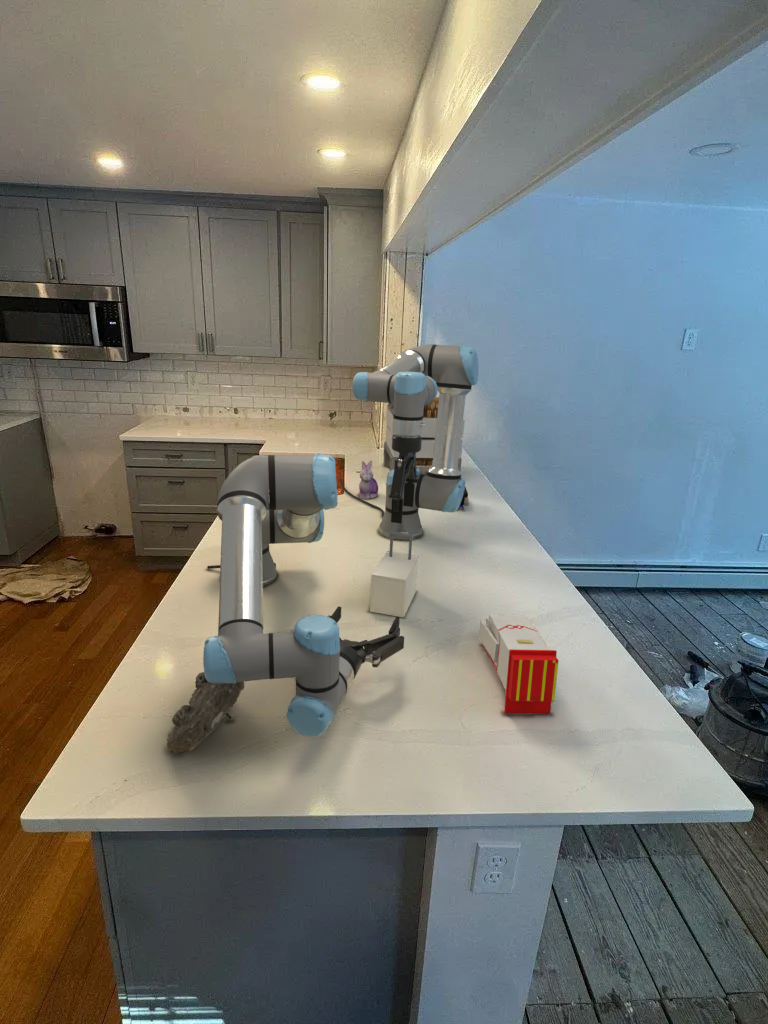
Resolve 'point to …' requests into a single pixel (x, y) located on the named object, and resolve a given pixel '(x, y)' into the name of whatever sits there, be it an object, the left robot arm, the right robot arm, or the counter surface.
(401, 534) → the lid
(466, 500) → the figurine character
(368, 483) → the figurine
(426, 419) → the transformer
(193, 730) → the fossil
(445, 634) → the counter surface
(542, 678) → the toy
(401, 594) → the chest
